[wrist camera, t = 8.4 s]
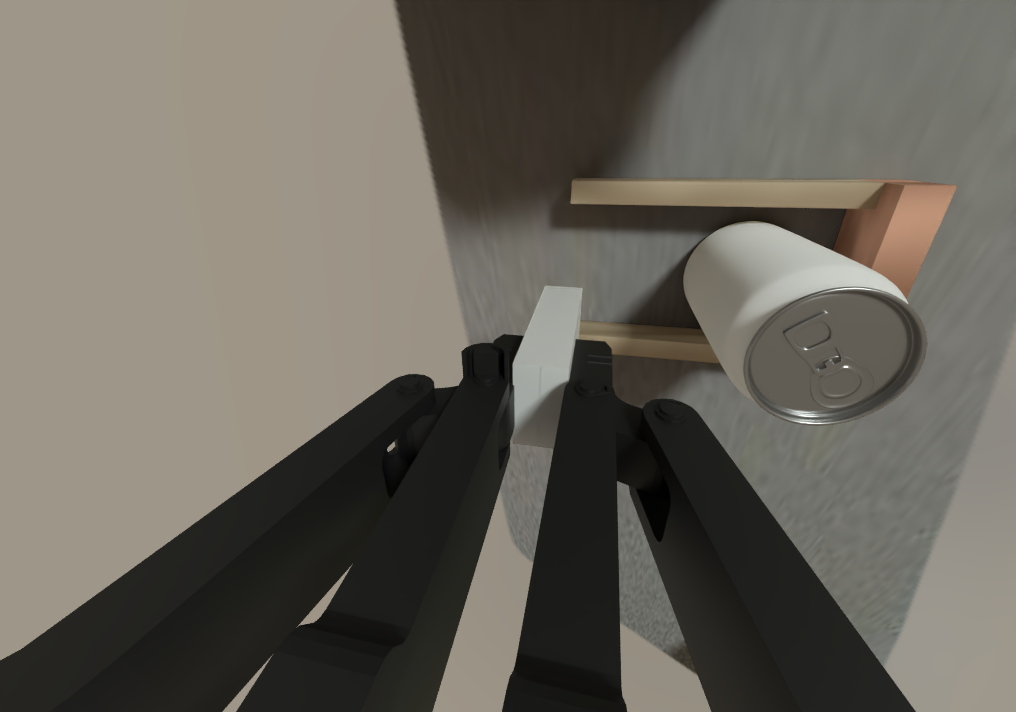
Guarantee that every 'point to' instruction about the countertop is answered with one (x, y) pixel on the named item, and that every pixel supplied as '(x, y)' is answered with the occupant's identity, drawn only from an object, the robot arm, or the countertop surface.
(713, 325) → the can
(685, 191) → the guide lane
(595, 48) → the countertop surface
